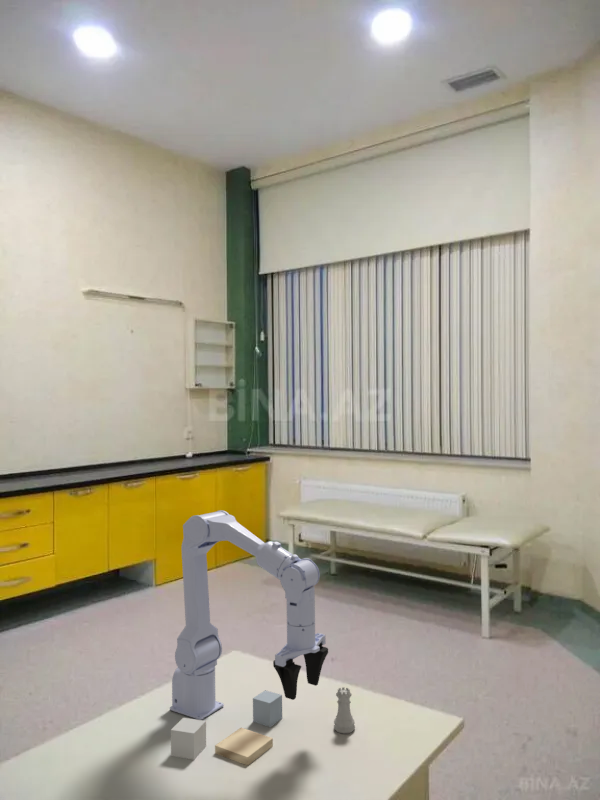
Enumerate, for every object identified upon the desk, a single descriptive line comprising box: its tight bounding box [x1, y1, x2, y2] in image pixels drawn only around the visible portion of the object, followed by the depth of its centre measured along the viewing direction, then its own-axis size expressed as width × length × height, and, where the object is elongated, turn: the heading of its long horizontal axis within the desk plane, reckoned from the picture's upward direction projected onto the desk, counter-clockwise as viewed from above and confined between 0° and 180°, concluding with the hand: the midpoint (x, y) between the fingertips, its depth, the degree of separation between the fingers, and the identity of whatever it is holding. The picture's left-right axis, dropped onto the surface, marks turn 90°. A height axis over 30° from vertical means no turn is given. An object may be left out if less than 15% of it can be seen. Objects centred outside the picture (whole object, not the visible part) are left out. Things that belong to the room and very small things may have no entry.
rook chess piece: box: [333, 686, 356, 735], centre depth 125 cm, size 4×4×8 cm
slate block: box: [252, 690, 283, 728], centre depth 130 cm, size 4×4×5 cm
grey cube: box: [170, 717, 207, 761], centre depth 118 cm, size 5×5×5 cm
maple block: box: [214, 727, 274, 766], centre depth 118 cm, size 8×8×2 cm
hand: (301, 690), depth 121 cm, fingers open, 7 cm apart
